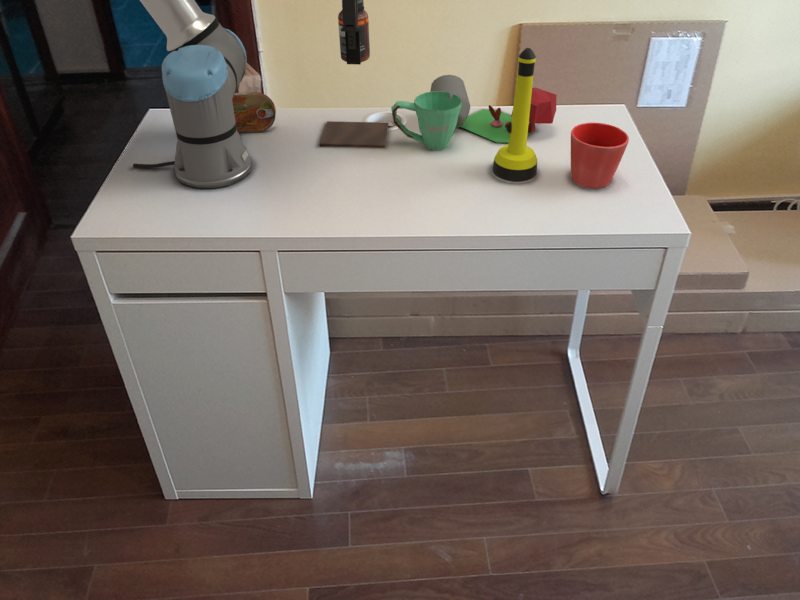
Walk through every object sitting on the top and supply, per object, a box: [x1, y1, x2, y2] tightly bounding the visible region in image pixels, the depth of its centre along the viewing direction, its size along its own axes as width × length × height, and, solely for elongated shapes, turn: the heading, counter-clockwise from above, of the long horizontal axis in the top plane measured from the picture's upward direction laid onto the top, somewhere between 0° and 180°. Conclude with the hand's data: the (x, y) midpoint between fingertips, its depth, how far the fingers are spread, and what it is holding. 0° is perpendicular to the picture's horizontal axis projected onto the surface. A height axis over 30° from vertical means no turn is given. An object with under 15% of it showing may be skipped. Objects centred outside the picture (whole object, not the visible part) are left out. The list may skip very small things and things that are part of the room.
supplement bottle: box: [337, 0, 371, 63], centre depth 135 cm, size 6×6×11 cm
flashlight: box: [491, 47, 538, 185], centre depth 131 cm, size 25×9×9 cm
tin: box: [232, 91, 277, 133], centre depth 152 cm, size 15×3×8 cm, turn 92°
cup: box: [429, 74, 471, 130], centre depth 152 cm, size 10×9×10 cm
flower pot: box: [570, 122, 630, 190], centre depth 133 cm, size 11×11×10 cm
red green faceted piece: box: [459, 86, 558, 144], centre depth 151 cm, size 15×20×9 cm
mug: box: [390, 91, 462, 151], centre depth 145 cm, size 15×10×10 cm
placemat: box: [319, 120, 389, 148], centre depth 152 cm, size 14×11×1 cm
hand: (355, 57), depth 139 cm, fingers closed on supplement bottle, 6 cm apart
